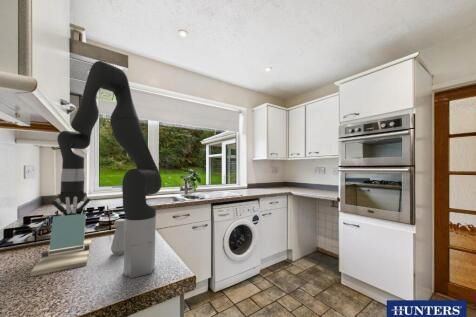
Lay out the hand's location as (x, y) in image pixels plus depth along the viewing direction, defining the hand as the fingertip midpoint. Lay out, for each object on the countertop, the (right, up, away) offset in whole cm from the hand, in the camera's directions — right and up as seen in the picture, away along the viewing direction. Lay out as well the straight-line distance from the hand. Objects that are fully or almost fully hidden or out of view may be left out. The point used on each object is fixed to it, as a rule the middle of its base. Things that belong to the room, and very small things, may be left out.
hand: (71, 222), depth 84 cm
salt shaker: (+22, -11, -4) cm, 25 cm away
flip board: (+3, -11, -6) cm, 13 cm away
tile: (+2, -3, -4) cm, 5 cm away
